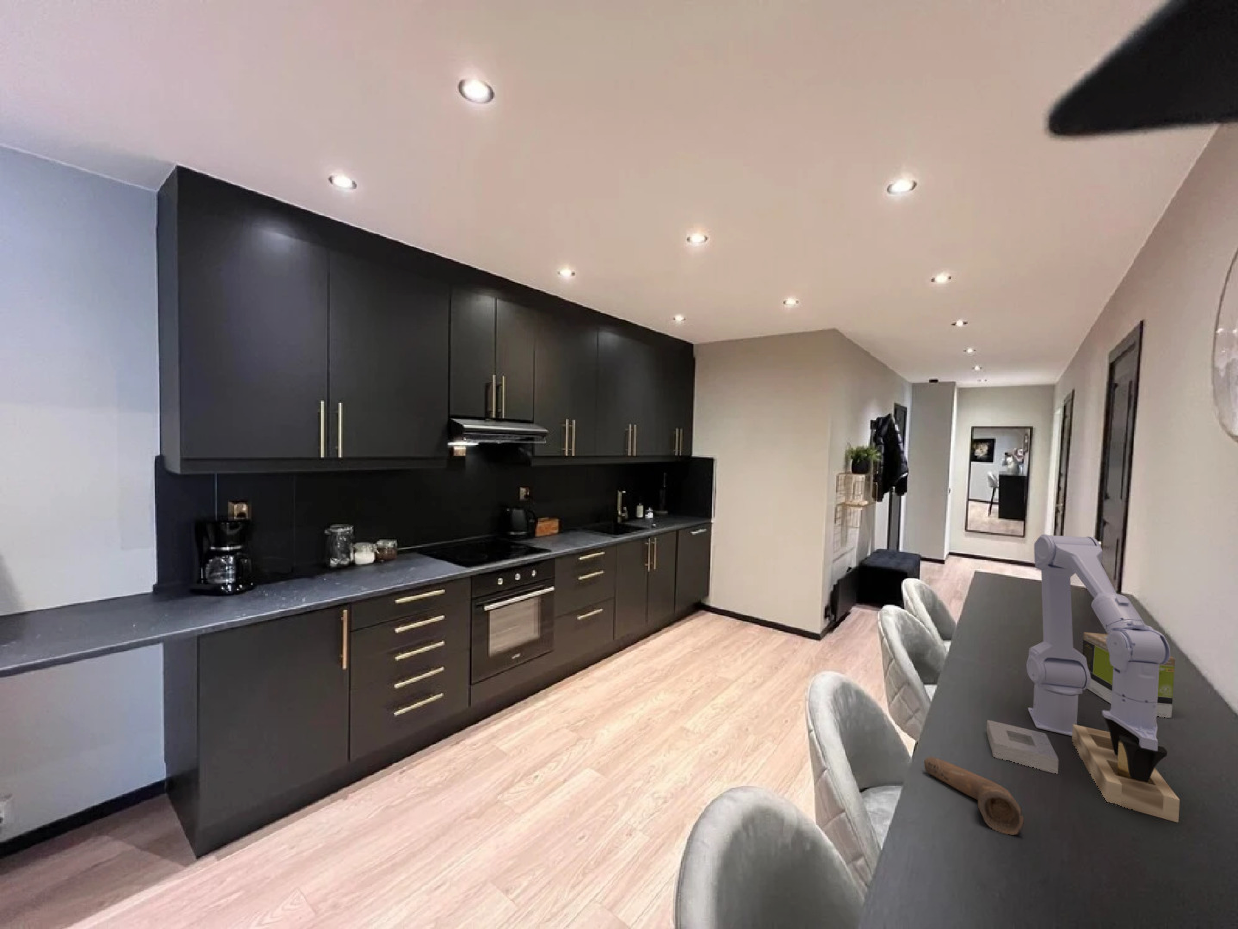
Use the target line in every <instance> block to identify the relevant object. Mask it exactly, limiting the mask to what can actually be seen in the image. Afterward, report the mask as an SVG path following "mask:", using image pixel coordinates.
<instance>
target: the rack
mask: <svg viewBox="0 0 1238 929" xmlns="http://www.w3.org/2000/svg"><path fill="white" fill-rule="evenodd" d="M1072 742H1073V743H1072ZM1071 743H1072V745H1073V747H1074V746H1075V747H1074V748H1075V750H1076V749H1077V750H1076V752H1077V751H1078V752H1077V754H1078V753H1079V754H1078V756H1079V757H1080V759H1081V761H1082V760H1083V761H1082V763H1083V762H1084V763H1083V764H1084V766H1085V768H1086V769H1087V771H1088V773H1089V775H1090V774H1091V775H1090V776H1091V778H1092V780H1093V779H1094V780H1093V782H1094V781H1095V782H1094V784H1095V783H1096V784H1095V786H1096V787H1097V786H1098V787H1097V789H1098V788H1099V789H1098V790H1100V791H1101V793H1102V794H1101V793H1100V794H1101V796H1102V795H1103V796H1102V798H1103V797H1104V798H1105V800H1106V801H1107V802H1110V803H1115V804H1118V805H1120V806H1122V807H1121V808H1124V807H1125V808H1124V809H1127V808H1128V810H1131V809H1133V810H1132V811H1135V812H1139V813H1141V814H1142V813H1143V814H1146V815H1150V816H1153V817H1157V818H1161V819H1164V820H1167V821H1171V822H1174V823H1179V819H1180V818H1179V817H1180V814H1179V813H1180V801H1181V800H1180V798H1179V797H1178V796H1177V795H1176V793H1175V792H1174V791H1173V789H1172V788H1171V787H1170V785H1169V784H1168V783H1167V782H1166V780H1165V779H1164V778H1163V776H1162V775H1161V774H1160V773H1159V771H1158V770H1157V769H1156V767H1155V768H1154V770H1153V772H1152V774H1151V777H1150V779H1149V781H1148V782H1143V781H1142V782H1140V781H1136V780H1132V779H1128V778H1124V777H1121V776H1117V764H1118V756H1117V755H1115V753H1114V750H1113V746H1112V741H1111V736H1110V732H1109V731H1106V730H1100V729H1098V728H1097V729H1095V728H1092V727H1087V726H1084V725H1078V724H1077V725H1075V724H1073V731H1072V736H1071ZM1100 791H1099V792H1100ZM1104 798H1103V799H1104ZM1105 800H1104V801H1105ZM1106 801H1105V802H1106ZM1120 806H1119V807H1120Z"/></svg>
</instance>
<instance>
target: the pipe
mask: <svg viewBox="0 0 1238 929" xmlns="http://www.w3.org/2000/svg"><path fill="white" fill-rule="evenodd" d="M923 763H924V769H925V771H926V772H927V773H928V774H929V775H931V776H933V777H935V778H936V779H937V780H939V781H941V782H943V783H945V784H947V785H949V786H950V787H952V788H954V789H955V790H957V791H959V792H960V793H962V794H965V795H966V796H969V797H971V798H973V799H975V800H976V801H977V808H978V809H979V812H980V813H981V815H982V817H983V821H984V822H985V823H986V825H987V826H988V827H989V828H990V829H991V828H992V829H991V830H993V831H994V830H995V831H994V832H997V831H999V832H998V833H1000V832H1001V834H1003V833H1004V834H1003V835H1008V834H1010V835H1009V836H1014V835H1015V836H1016V835H1018V834H1019V832H1020V830H1022V829H1021V828H1023V826H1024V824H1025V823H1024V821H1025V816H1024V815H1023V814H1022V809H1021V806H1020V805H1019V804H1018V802H1017V801H1016V799H1015V798H1014V796H1013V795H1012V793H1010V791H1009V790H1008V789H1006V788H1005V787H1004V786H1002V785H1000V784H998V783H997V782H994V781H992V780H989V779H988V778H985V777H983V776H981V775H978V774H976V773H974V772H971V771H970V770H967V769H965V768H962V767H960V766H958V765H956V764H953V763H950V762H948V761H946V760H943V759H940V758H937V757H934V756H931V755H930V756H928V757H927V758H925V760H924V762H923Z"/></svg>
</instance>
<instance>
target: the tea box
mask: <svg viewBox="0 0 1238 929" xmlns="http://www.w3.org/2000/svg"><path fill="white" fill-rule="evenodd" d="M1107 637H1108V634H1107V633H1097V632H1096V633H1095V632H1085V631H1084V632H1083V638H1082V653H1081V654H1082V655H1084V656H1085V657H1086V660H1087V666H1088V670H1089V672H1090V676H1091V682H1090V685H1089V687H1088V688H1087V689H1086V690H1089V691H1091V692H1092V693H1093V694H1095V695H1097V697H1099V698H1101V699H1103V700H1104V701H1106V702H1108V703H1109V704H1110V705H1111V700H1112V684H1113V666H1112V665H1111V664H1110V654H1109V651H1108V648H1107V645H1106V638H1107ZM1175 668H1176V658H1175V657H1173V656H1171V655H1170V658H1169V661H1168V662H1167V663H1166V664H1159V682H1158V700H1157V716H1159V717H1158V718H1164V717H1165V718H1164V719H1166V718H1167V719H1168V718H1169V719H1170V718H1172V714H1173V701H1174V700H1173V699H1174V685H1175V684H1174V682H1175Z"/></svg>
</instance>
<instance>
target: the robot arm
mask: <svg viewBox="0 0 1238 929" xmlns="http://www.w3.org/2000/svg"><path fill="white" fill-rule="evenodd" d="M1036 539H1037V540H1035V541H1034V543H1033V553H1034V554H1033V556H1034V567H1035V568H1036V569H1038V570H1039V571H1041V572H1040V573H1041V600H1042V601H1041V604H1042V606H1041V607H1042V633H1043V634H1042V635H1043V636H1042V637H1043V641H1042V642H1039V643H1037V644H1036V645H1033V646H1031V647H1029V649H1028V656H1027V657H1028V658H1027V660H1026V665H1025V666H1026V673H1027V675H1028V677H1029V678H1030V679H1031V681H1032V682H1033V683H1034V686H1033V687H1034V688H1033V706H1032V707H1028V708H1027V710H1028V712H1029V715H1030V718H1031V719H1032V721H1033V723H1034V725H1035V727H1036V729H1040V730H1045V731H1048V732H1054V733H1058V734H1060V735H1066V736H1070V737H1072V731H1073V724H1075V725H1078V724H1077V723H1078V707H1079V705H1078V704H1079V694H1081V695H1082V694H1083V691H1084V690H1088V689H1087V688H1088V687H1089V685H1090V682H1091V676H1090V672H1089V670H1088V666H1087V660H1086V657H1085V656H1084V655H1082V654H1083V653H1081V652H1080V651H1078V650H1077V649H1076V648H1074V639H1073V638H1074V637H1073V636H1074V635H1073V614H1072V587H1071V578H1072V577H1073V576H1074V575H1076V576H1077V577H1078V579H1079V581H1081V583H1082V585H1083V586H1084V587H1085V588H1086V589H1087V591H1088V592H1089V593H1090V595H1091V596H1092V598H1093V600H1092V601H1091V603H1090V604H1091V609H1092V610H1093V611H1094V612H1093V613H1095V615H1096V617H1097V618H1098V620H1099V623H1100V624H1101V625H1102V627H1103V628H1104V630H1105V632H1106V634H1108V637H1107V638H1106V645H1107V648H1108V651H1109V654H1110V664H1111V665H1112V666H1113V684H1112V700H1111V704H1110V709H1109V710H1105V709H1104V710H1102V711H1101V716H1102V717H1103V719H1104V722H1105V723H1106V726H1107V729H1108V732H1110V736H1111V741H1112V746H1113V750H1114V753H1115V755H1117V756H1118V745H1119V741H1121V742H1122V744H1123V746H1124V749H1125V752H1126V756H1127V763H1128V770H1129V774H1130V777H1131V778H1132V779H1135V780H1139V781H1143V782H1148V781H1149V779H1150V777H1151V774H1152V772H1153V770H1154V768H1155V769H1156V766H1157V765H1158V764H1159V762H1160V761H1162V760H1163V759H1164V758H1166V757H1167V756H1168V751H1167V749H1166V748H1165V747H1164V746H1160V745H1159V740H1158V738H1157V734H1158V724H1157V718H1158V717H1157V700H1158V682H1159V664H1166V663H1167V662H1168V661H1169V658H1170V656H1171V648H1170V644H1169V643H1168V641H1167V639H1166V637H1165V635H1164V634H1162V633H1161V632H1160V631H1158V630H1156V629H1155V628H1153V626H1150V625H1147V624H1146V623H1145V621H1144V620H1143V619H1142V617H1141V615H1140V614H1139V612H1138V611H1137V610H1136V608H1135V606H1134V605H1133V603H1132V602H1131V601H1130V599H1129V598H1128V597H1127V596H1124V595H1122V594H1119V593H1117V591H1116V590H1115V588H1114V585H1113V584H1112V582H1111V581H1110V578H1109V576H1108V574H1107V573H1106V569H1104V567H1103V564H1102V561H1103V555H1104V552H1103V549H1102V546H1101V544H1100V542H1099V541H1098V539H1096V538H1094V536H1071V535H1054V534H1053V535H1050V534H1046V533H1045V534H1040V535H1039V536H1038V538H1036Z"/></svg>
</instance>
